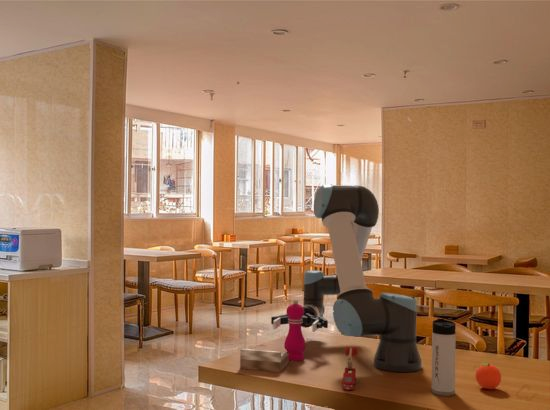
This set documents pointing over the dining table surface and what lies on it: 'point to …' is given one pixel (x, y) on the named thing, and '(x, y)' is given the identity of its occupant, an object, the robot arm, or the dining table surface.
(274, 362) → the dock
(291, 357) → the pepper mill
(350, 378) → the toy fire truck
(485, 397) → the dining table surface
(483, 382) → the clementine
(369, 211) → the robot arm
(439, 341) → the travel mug
